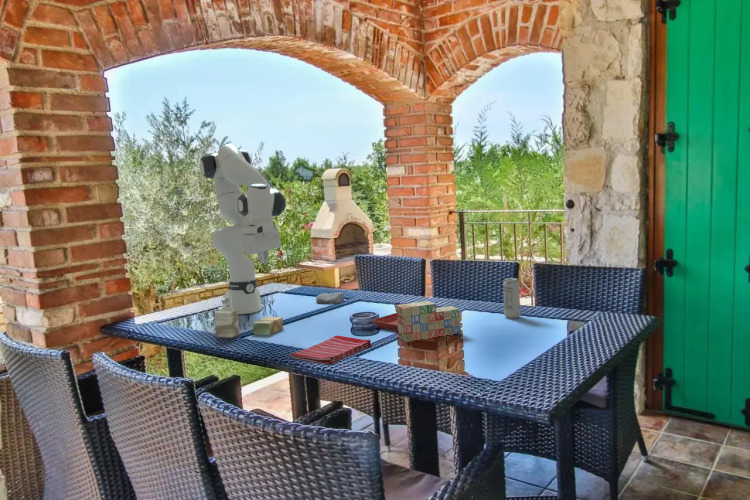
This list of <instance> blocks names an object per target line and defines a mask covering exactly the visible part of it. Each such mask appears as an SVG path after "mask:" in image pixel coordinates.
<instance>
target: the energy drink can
mask: <svg viewBox="0 0 750 500" xmlns="http://www.w3.org/2000/svg"><path fill="white" fill-rule="evenodd" d="M502 284H503V288H502V289H503V292H502V293H503V315H504V317H505V318H506V319H511V320H515V319H518V318H519V317H520V316H521V302H520V301H521V298H520V297H521V296H520V294H521V292H520V282H519V280H518V278H517V277H507V278H504V281H503V283H502Z"/></svg>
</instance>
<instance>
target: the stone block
mask: <svg viewBox="0 0 750 500" xmlns="http://www.w3.org/2000/svg"><path fill="white" fill-rule="evenodd" d="M344 296H345V295H344V294H343V292H340V291H337V292H336V291H335V292H332V293H327V292H323V293H320V294H318V295H316V298H315V301H316V303H319V304H327V303H329V305H331V304H332V303H335V304H339V302H340V303H341V302H343V301H344ZM342 300H343V301H342Z"/></svg>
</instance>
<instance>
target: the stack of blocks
mask: <svg viewBox="0 0 750 500" xmlns="http://www.w3.org/2000/svg"><path fill="white" fill-rule="evenodd" d="M396 313H397V322H398V331H397V333H398V335H397V336H398V339H399V340H401V341H402V342H404V343H411V342H415V341H414V340H418V339H425V338H429V337H432V336H439V335H451V336H454V335H453V334H458V335H460V334H461V318H460V309H459V308H458V307H455V306H453V305H449V306H441V307H437V306H436V303H435V302H431V301H429V300H425V301H416V302H410V303H409V302H408V303H403V304H396ZM425 340H426V339H425ZM410 341H411V342H410ZM418 341H419V340H418Z"/></svg>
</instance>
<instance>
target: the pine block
mask: <svg viewBox="0 0 750 500" xmlns="http://www.w3.org/2000/svg"><path fill="white" fill-rule="evenodd" d="M238 315H239V314H238V313H237V310H220V311H219V310H217V311H215V312H214V321H215V330H216V331H215V332H216V339H219V338H224V339H225V340H234V339H237V338H239V337H240V327H239V316H238ZM238 336H239V337H238ZM224 339H223V340H224Z"/></svg>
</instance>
